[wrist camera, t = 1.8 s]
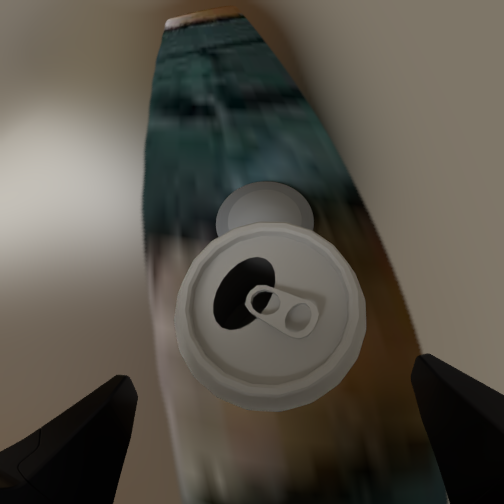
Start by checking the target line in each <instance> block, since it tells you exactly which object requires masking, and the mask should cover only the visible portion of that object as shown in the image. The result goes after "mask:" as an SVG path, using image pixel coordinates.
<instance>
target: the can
mask: <svg viewBox="0 0 504 504" xmlns="http://www.w3.org/2000/svg"><path fill="white" fill-rule="evenodd" d="M174 324H175V330H176V336H177V341H178V347H179V351H180V353H181V355H182V356H183V358H184V360H185V362H186V364H187V365H188V367H189V369H190V371H191V372H192V374H193V376H194V377H195V378H196V379H197V380H198V381H199V382H200V383H201V384H203V385H204V386H205V387H206V388H207V389H208V390H209V391H210V392H212V393H213V394H214V395H215V396H216V397H217V398H220V399H222V400H224V401H227V402H229V403H231V404H234V405H236V406H239V407H241V408H244V409H246V410H256V411H274V412H281V411H285V410H289V409H292V408H296V407H300V406H303V405H306V404H310V403H312V402H314V401H315V400H317V399H318V398H320V397H321V396H323V395H324V394H326V393H327V392H329V391H330V390H331V389H333V388H334V387H336V386H337V385H338V384H339V383H340V382H341V381H342V379H343V378H344V377H345V375H346V374H347V373H348V371H349V370H350V368H351V367H352V366H353V364H354V363H355V361H356V360H357V358H358V355H359V352H360V349H361V346H362V342H363V339H364V336H365V332H366V304H365V298H364V295H363V292H362V290H361V287H360V284H359V282H358V279H357V276H356V274H355V272H354V271H353V270H352V268H351V266H350V265H349V263H348V262H347V261H346V260H345V258H344V257H343V256H342V255H341V254H340V252H339V251H338V250H337V249H336V247H335V246H334V245H333V244H332V243H330V242H329V241H327V240H326V239H324V238H323V237H321V236H320V235H318V234H317V233H315V232H314V231H312V230H310V229H307V228H303V227H300V226H297V225H294V224H291V223H287V222H256V223H252V224H248V225H244V226H240V227H236V228H234V229H232V230H230V231H228V232H227V233H225V234H223V235H221V236H220V237H218V238H216V239H215V240H213V241H211V242H210V243H209V244H208V246H207V247H206V248H205V249H204V250H203V251H202V252H201V253H200V254H199V255H198V256H197V257H196V258H195V259H194V260H193V262H192V264H191V266H190V268H189V270H188V272H187V274H186V276H185V278H184V280H183V282H182V284H181V288H180V290H179V292H178V297H177V304H176V311H175V318H174Z"/></svg>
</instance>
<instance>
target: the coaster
mask: <svg viewBox="0 0 504 504" xmlns="http://www.w3.org/2000/svg"><path fill="white" fill-rule="evenodd" d="M256 222H287V223H291V224H294V225H297V226H300V227H303V228H307V229H310V230H312V231H313V228H314V218H313V213H312V210H311V207H310V205H309V204H308V202H307V200H306V199H305V198H304V197H303V196H302V195H301V194H300V193H299V192H297V191H296V190H295V189H293V188H291V187H289V186H287V185H284V184H281V183H277V182H268V181H267V182H255V183H251V184H248V185H245V186H243V187H241V188H239V189H237V190H236V191H234V192H233V193H232V194H230V195H229V196H228V197H227V198H226V200H225V201H224V202H223V204H222V205H221V207H220V209H219V212H218V215H217V219H216V230H217V235H218V237H220V236H221V235H223V234H225V233H227V232H228V231H230V230H232V229H234V228H236V227H240V226H244V225H248V224H252V223H256Z"/></svg>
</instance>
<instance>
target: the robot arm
mask: <svg viewBox="0 0 504 504" xmlns="http://www.w3.org/2000/svg"><path fill="white" fill-rule="evenodd" d="M411 382H412V386H413V389H414V393H415V396H416V400H417V403H418V407H419V411H420V415H421V418H422V421H423V424H424V427H425V429H426V432H427V435H428V437H429V440H430V443H431V446H432V448H433V451H434V454H435V457H436V460H437V463H438V466H439V469H440V472H441V475H442V478H443V481H444V485H445V488H446V491H447V495H448V498H449V502H450V504H504V395H503V394H501V393H499V392H497V391H495V390H494V389H491V388H490V387H488V386H486V385H485V384H483V383H481V382H479V381H477V380H475V379H474V378H472V377H470V376H468V375H467V374H465V373H463V372H461V371H460V370H458V369H456V368H454V367H452V366H451V365H449V364H447V363H445V362H444V361H441V360H440V359H438V358H436V357H435V356H433V355H431V354H423V355H419V356H418V357H417V358H416V360H415V364H414V367H413V370H412V373H411ZM137 400H138V396H137V392H136V390H135V388H134V385H133V383H132V381H131V379H130V377H128V376H127V375H116V376H114V377H113V378H112V379H110V380H109V381H107V382H106V383H104V384H103V385H101V386H100V387H99V388H97V389H96V390H94V391H93V392H92V393H90V394H89V395H87V396H86V397H84V398H83V399H82V400H80V401H79V402H77V403H76V404H75V405H73V406H72V407H70V408H69V409H67V410H66V411H64V412H63V413H62V414H60V415H59V416H57V417H56V418H54V419H53V420H51V421H50V422H48V423H47V424H45V425H44V426H43V427H41V428H40V429H38V430H37V431H35V432H34V433H32V434H30V435H29V436H28V437H26V438H24V439H23V440H21V441H19V442H17V443H16V444H14V445H12V446H10V447H9V448H6V449H4V450H3V451H1V452H0V504H113V502H114V497H115V494H116V490H117V486H118V482H119V478H120V474H121V471H122V467H123V463H124V460H125V456H126V453H127V449H128V446H129V442H130V438H131V434H132V428H133V422H134V417H135V411H136V405H137Z"/></svg>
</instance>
